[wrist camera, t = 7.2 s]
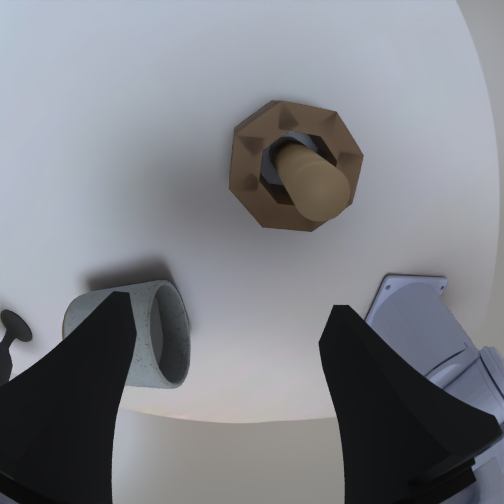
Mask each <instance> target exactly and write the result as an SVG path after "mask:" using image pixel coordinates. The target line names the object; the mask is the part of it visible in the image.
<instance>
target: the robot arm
mask: <svg viewBox="0 0 504 504" xmlns="http://www.w3.org/2000/svg"><path fill="white" fill-rule="evenodd" d="M447 284H448V280H447V279H446V278H445V277H420V276H397V275H389V276H387V277H386V278H385V279H384V281H383V283H382V286H381V288H380V290H379V292H378V295H377V297H376V299H375V301H374V303H373V306H372V308H371V310H370V312H369V314H368V316H367V318H366V320H365V321H364V320H363V319H362V318H361V317H360V316H359V315H358V314H357V313H356V312H355V311H354V310H353V309H352V308H351V307H350V306H349V305H333V308H332V311H331V313H330V316H329V318H328V321H327V323H326V326H325V328H324V331H323V333H322V336H321V338H320V340H319V349H320V356H321V362H322V367H323V371H324V374H325V378H326V381H327V384H328V388H329V391H330V395H331V398H332V401H333V405H334V408H335V412H336V415H337V419H338V423H339V429H340V436H341V442H342V451H343V461H344V477H345V504H504V358H503V357H502V356H501V354H500V353H499V352H498V351H497V349H496V348H494V347H487V346H484V347H483V348H482V349H481V350H480V351H479V350H478V349H477V348H476V347H475V345H474V344H473V342H472V341H471V339H470V338H469V336H468V335H467V333H466V332H465V331H464V329H463V328H462V326H461V325H460V324H459V322H458V321H457V319H456V318H455V317H454V315H453V314H452V313H451V311H450V310H449V309H448V307H447V306H446V305H445V303H444V302H443V301H442V300H441V298H440V297H441V295H442V293H443V291H444V289H445V288H446V286H447ZM387 285H388V286H387ZM386 286H387V287H386ZM136 337H137V330H136V325H135V320H134V315H133V310H132V305H131V299H130V293H129V292H120V291H113V292H112V293H111V294H110V295H109V296H108V297H107V298H105V299H104V300H103V301H102V302H101V303H100V304H99V305H98V306H97V307H96V308H95V309H94V310H93V311H92V313H91V314H90V315H89V316H88V317H87V318H86V319H84V320H83V321H82V322H81V323H80V324H79V325H78V326H77V327H76V328H75V329H74V330H73V331H72V332H71V333H70V334H69V335H68V336H67V337H66V338H65V339H64V340H63V341H61V342H60V343H59V344H58V345H57V346H56V347H55V348H54V349H53V350H51V351H50V352H49V353H48V354H47V355H45V356H44V357H43V358H42V359H40V360H39V361H38V362H36V363H35V364H34V365H33V366H31V367H30V368H28V369H27V370H25V371H24V372H22V373H21V374H19V375H18V376H17V377H15V378H14V379H12V380H11V381H9V382H7V383H6V384H4V385H2V386H0V504H113V503H112V482H111V479H112V451H113V439H114V429H115V422H116V416H117V412H118V407H119V403H120V400H121V396H122V393H123V389H124V386H125V382H126V379H127V376H128V372H129V369H130V365H131V362H132V359H133V354H134V349H135V343H136Z"/></svg>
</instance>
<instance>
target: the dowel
mask: <svg viewBox="0 0 504 504" xmlns="http://www.w3.org/2000/svg"><path fill="white" fill-rule="evenodd" d="M269 159H270V162H271V163H272V165H273V167H274V169H275V170H276V172H277V174H278V176H279V177H280V179H281V181H282V183H283V184H284V186H285V188H286V190H287V192H288V193H289V195H290V197H291V199H292V201H293V202H294V204H295V206H296V208H297V210H298V211H299V212H300V214H301V215H303V216H304V217H305V218H307V219H309V220H312V221H318V222H322V221H327V220H330V219H333V218H335V217H336V216H338V215H339V214H340V213H341V212H342V211H343V210H344V209H345V207H346V205H347V204H348V201H349V198H350V185H349V182H348V180H347V178H346V176H345V175H344V174H343V173H342V172H341V171H340V170H338V169H337V168H336V167H334V166H333V165H332V164H330V163H329V162H328V161H326V160H325V159H324V158H322V157H321V156H319V155H318V154H317V153H315V152H314V151H312V150H311V149H310V148H308V147H307V146H305V145H304V144H302V143H301V142H300V141H298V140H297V139H295V138H292V137H281V138H279V139H277V140H276V141H275V142H273V143H272V145H271V146H270V149H269Z"/></svg>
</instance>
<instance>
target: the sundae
mask: <svg viewBox="0 0 504 504" xmlns="http://www.w3.org/2000/svg"><path fill="white" fill-rule="evenodd" d="M1 320H2V322H3V324H4V326H5V327H6V329H7V331H6V334H5V336H4V338H3V340H2V341H1V342H0V386H2V385H4V384H6V383H7V382H9V378H10V375H11V371H12V366H13V365H12V360H11V356H10V354H9V347H10V345H11V343H12V342H13V341H14V340H15V339H16V338H17V339H19V340H21V341H24V342H29V341H31V339H32V333H31V331H30V329H29V327H28V326H27V324H26V323H25V322H24V321H23V320H22V319H21V318H20V317H19V316H18V315H16V314H15V313H13V312H11V311H8V310H4V311H2V312H1Z"/></svg>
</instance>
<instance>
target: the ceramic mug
mask: <svg viewBox="0 0 504 504" xmlns="http://www.w3.org/2000/svg"><path fill="white" fill-rule="evenodd" d="M113 291H120V292H129V293H130V299H131V305H132V310H133V315H134V320H135V325H136V330H137V337H136V343H135V349H134V354H133V359H132V362H131V365H130V369H129V372H128V376H127V379H126V382H125V385H126V386H136V387H150V388H163V389H173V388H177V387H179V386H180V385H182V383H183V382H184V380H185V379H186V376H187V374H188V369H189V366H190V332H189V326H188V319H187V315H186V312H185V309H184V305H183V302H182V299H181V297H180V295H179V293H178V291H177V290H176V288H175V287H174V285H173V284H172V283H170V282H169V281H166V280H156V281H151V282H145V283H139V284H133V285H127V286H120V287H115V288H109V289H100V290H94V291H91V292H88V293H85V294H83V295H80V296H78V297H77V298H75V299H74V300H73V301H72V302H71V303H70V305H69V306H68V308H67V310H66V313H65V316H64V320H63V325H62V339H63V340H64V339H65V338H66V337H67V336H68V335H69V334H70V333H71V332H72V331H73V330H74V329H75V328H76V327H77V326H78V325H79V324H80V323H81V322H82V321H83V320H84V319H86V318H87V317H88V316H89V315H90V314H91V313H92V311H93V310H94V309H95V308H96V307H97V306H98V305H99V304H100V303H101V302H102V301H103V300H104V299H105V298H107V297H108V296H109V295H110V294H111V293H112V292H113Z"/></svg>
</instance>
